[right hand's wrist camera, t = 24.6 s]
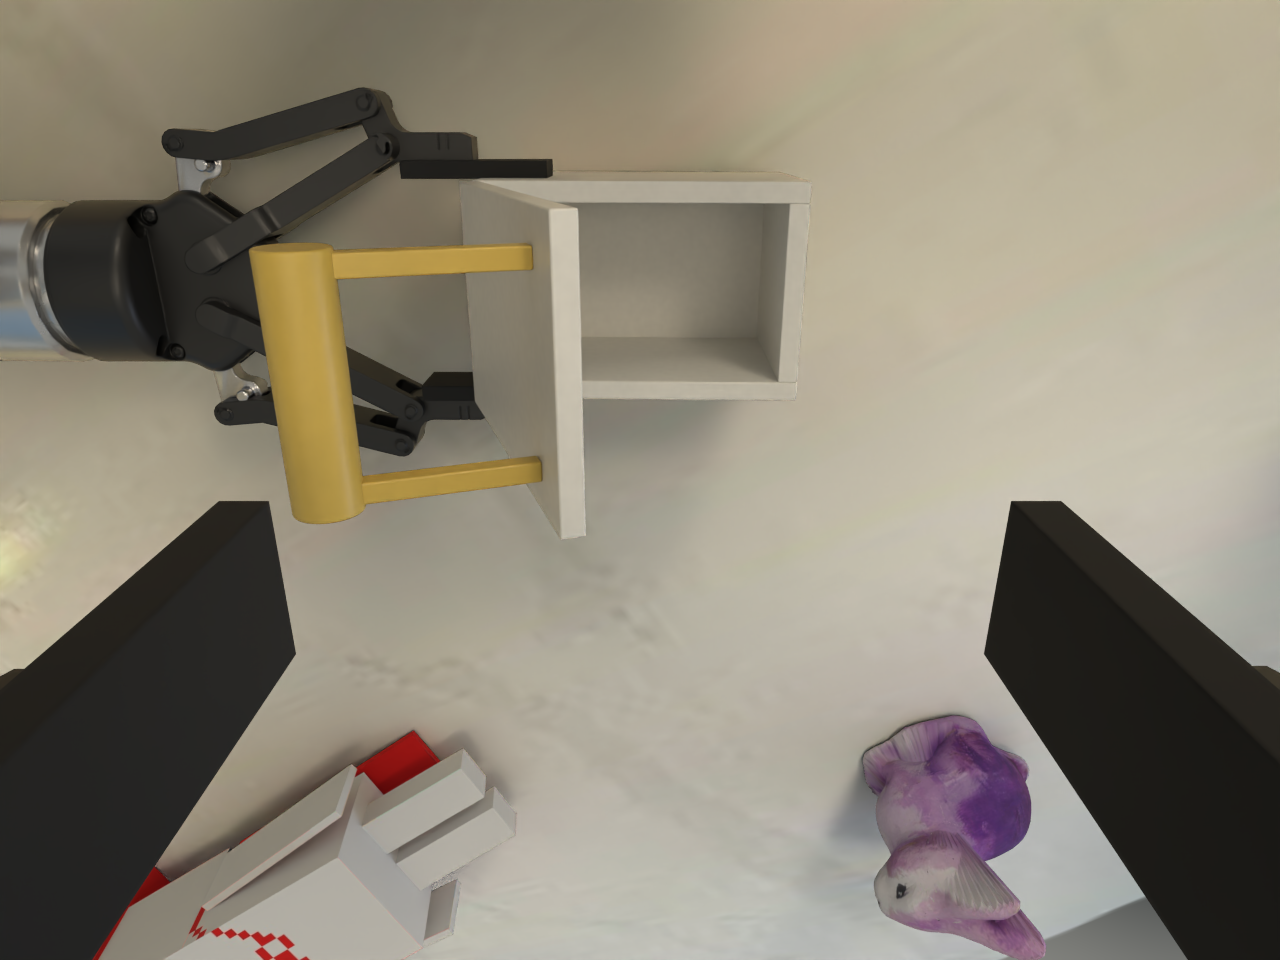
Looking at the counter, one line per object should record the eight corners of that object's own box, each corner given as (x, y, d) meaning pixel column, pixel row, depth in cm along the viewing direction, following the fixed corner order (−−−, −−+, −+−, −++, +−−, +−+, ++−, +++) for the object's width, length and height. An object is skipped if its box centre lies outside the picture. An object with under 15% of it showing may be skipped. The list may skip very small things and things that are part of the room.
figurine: (828, 784, 61) (884, 978, 47) (922, 684, 57) (1012, 860, 43) (929, 841, 62) (1012, 1043, 49) (1025, 747, 59) (1144, 934, 45)
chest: (780, 172, 45) (812, 181, 36) (769, 349, 49) (796, 401, 39) (510, 170, 45) (470, 180, 36) (519, 347, 49) (485, 398, 39)
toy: (538, 916, 52) (138, 1145, 54) (538, 778, 65) (214, 967, 67) (423, 780, 48) (-4, 1031, 50) (446, 662, 61) (105, 866, 63)
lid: (578, 207, 22) (234, 216, 20) (586, 537, 26) (296, 581, 23) (478, 180, 36) (265, 183, 33) (492, 400, 39) (301, 418, 37)
